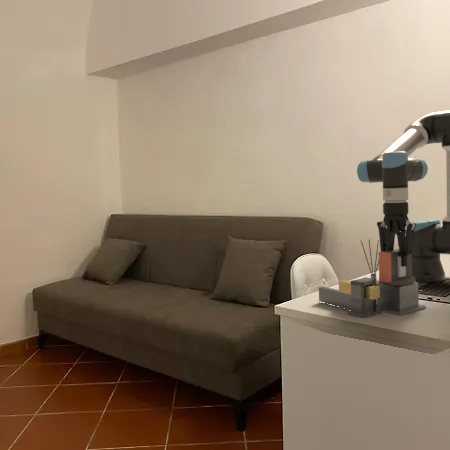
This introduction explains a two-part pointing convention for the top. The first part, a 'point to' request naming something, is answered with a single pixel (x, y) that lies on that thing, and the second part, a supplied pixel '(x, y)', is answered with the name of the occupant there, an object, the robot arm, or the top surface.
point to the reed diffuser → (373, 276)
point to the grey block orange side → (394, 269)
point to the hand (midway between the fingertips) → (396, 275)
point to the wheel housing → (399, 299)
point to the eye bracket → (352, 298)
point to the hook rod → (369, 290)
